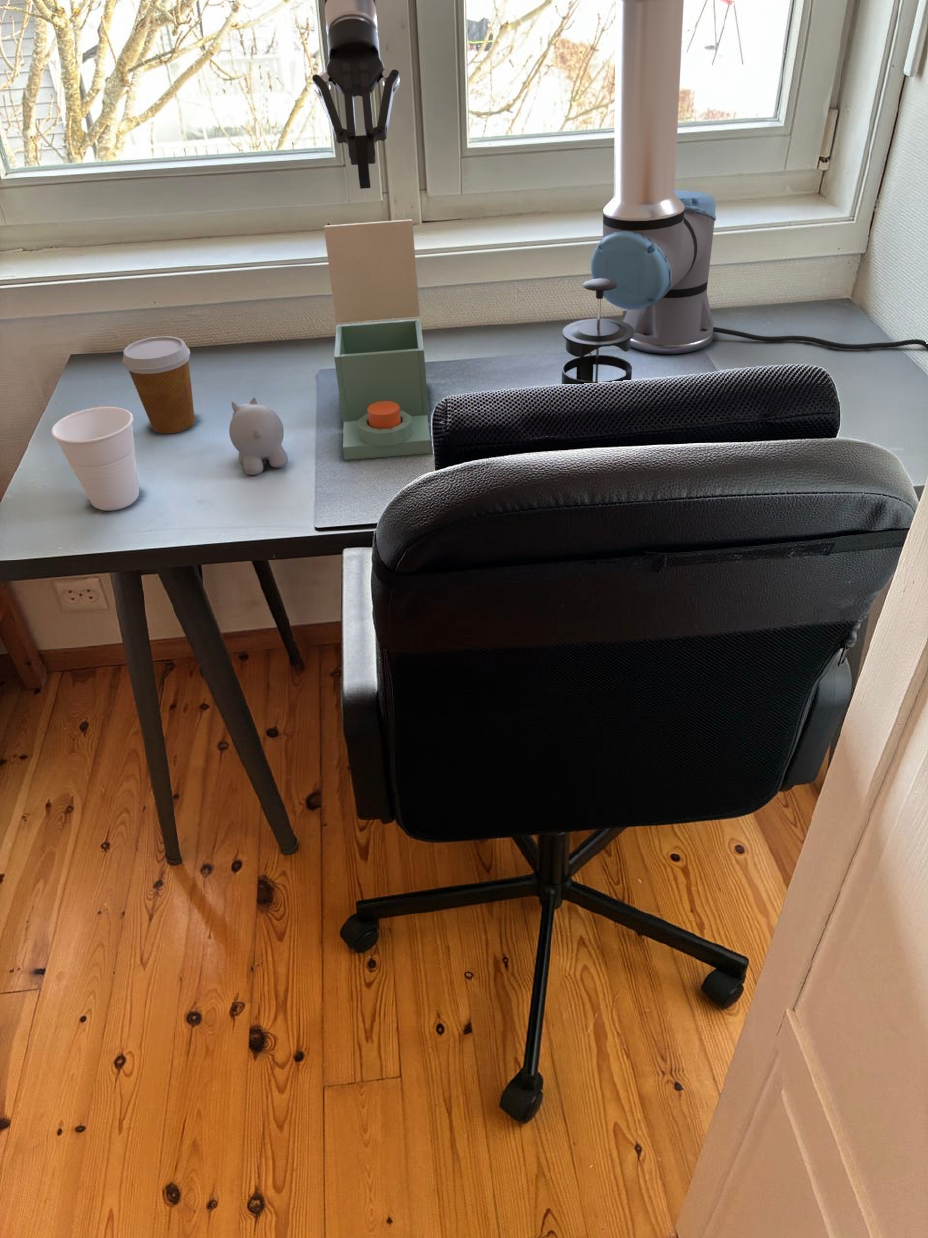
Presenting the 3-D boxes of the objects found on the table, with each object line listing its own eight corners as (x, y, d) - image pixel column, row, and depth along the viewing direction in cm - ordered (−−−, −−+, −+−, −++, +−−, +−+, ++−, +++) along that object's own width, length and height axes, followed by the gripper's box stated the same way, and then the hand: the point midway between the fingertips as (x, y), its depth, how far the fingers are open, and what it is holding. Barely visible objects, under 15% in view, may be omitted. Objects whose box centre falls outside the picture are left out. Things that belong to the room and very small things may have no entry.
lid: (412, 220, 134) (412, 219, 135) (323, 226, 133) (324, 225, 134) (419, 316, 141) (419, 314, 142) (335, 322, 141) (336, 321, 141)
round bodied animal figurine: (274, 434, 137) (264, 379, 132) (295, 469, 128) (284, 411, 123) (225, 445, 135) (213, 389, 130) (243, 481, 126) (230, 423, 121)
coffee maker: (429, 420, 138) (424, 349, 132) (343, 427, 138) (334, 356, 131) (425, 386, 148) (420, 318, 142) (345, 392, 148) (336, 324, 141)
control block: (428, 427, 136) (426, 401, 134) (431, 455, 130) (429, 428, 127) (345, 434, 136) (342, 408, 134) (344, 462, 129) (340, 435, 127)
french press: (639, 465, 124) (652, 291, 110) (570, 474, 123) (574, 299, 109) (612, 427, 134) (621, 261, 120) (548, 435, 133) (549, 269, 119)
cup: (61, 507, 123) (33, 430, 116) (121, 475, 129) (98, 400, 123) (110, 527, 118) (85, 448, 112) (170, 492, 125) (149, 416, 118)
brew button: (400, 415, 132) (398, 399, 131) (401, 429, 128) (399, 413, 127) (369, 417, 132) (367, 402, 130) (369, 431, 128) (367, 415, 127)
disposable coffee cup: (131, 424, 142) (109, 347, 135) (188, 405, 147) (170, 329, 139) (158, 445, 136) (137, 365, 129) (217, 424, 141) (199, 346, 134)
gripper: (397, 50, 143) (410, 194, 140) (311, 55, 142) (322, 200, 139) (395, 12, 135) (408, 163, 132) (304, 17, 135) (316, 170, 132)
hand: (364, 182), depth 136 cm, fingers closed
